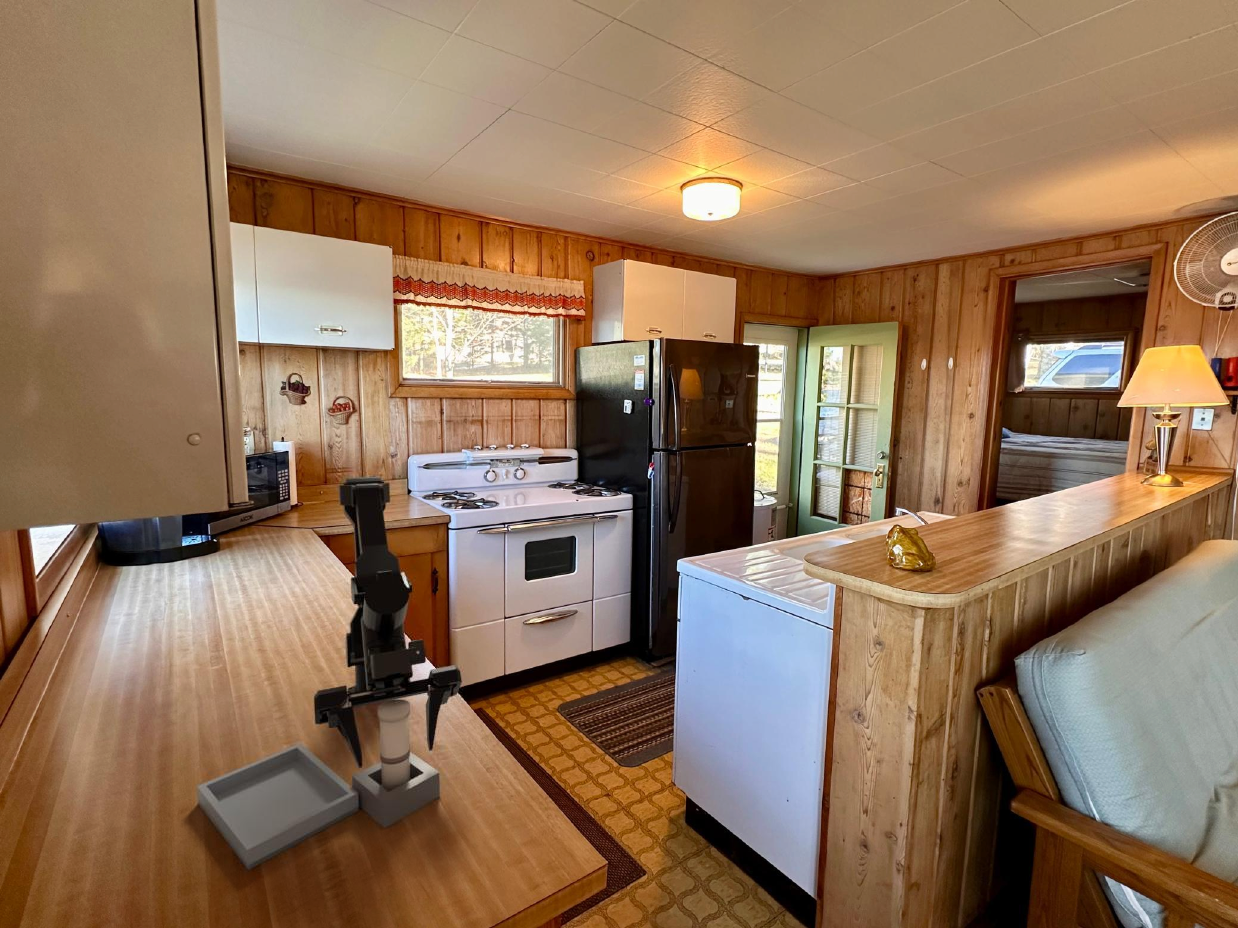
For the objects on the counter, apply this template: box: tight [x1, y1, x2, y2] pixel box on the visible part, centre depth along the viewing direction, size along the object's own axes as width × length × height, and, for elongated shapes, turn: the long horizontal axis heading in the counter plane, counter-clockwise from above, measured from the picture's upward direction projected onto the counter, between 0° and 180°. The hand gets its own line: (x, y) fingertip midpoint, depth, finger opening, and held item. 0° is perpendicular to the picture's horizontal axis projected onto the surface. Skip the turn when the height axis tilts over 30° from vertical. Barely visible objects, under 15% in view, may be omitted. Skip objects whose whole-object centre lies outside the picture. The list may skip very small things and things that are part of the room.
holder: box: [351, 751, 441, 829], centre depth 81 cm, size 8×8×4 cm
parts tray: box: [196, 742, 360, 871], centre depth 79 cm, size 17×13×2 cm
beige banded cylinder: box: [377, 698, 411, 792], centre depth 81 cm, size 4×4×13 cm
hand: (396, 758), depth 80 cm, fingers open, 8 cm apart
